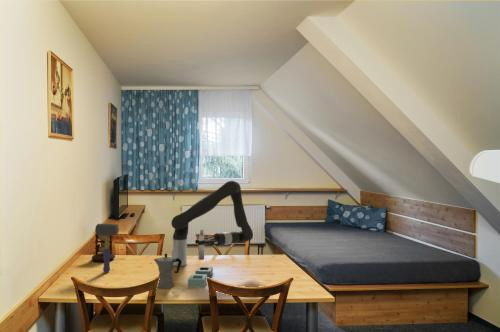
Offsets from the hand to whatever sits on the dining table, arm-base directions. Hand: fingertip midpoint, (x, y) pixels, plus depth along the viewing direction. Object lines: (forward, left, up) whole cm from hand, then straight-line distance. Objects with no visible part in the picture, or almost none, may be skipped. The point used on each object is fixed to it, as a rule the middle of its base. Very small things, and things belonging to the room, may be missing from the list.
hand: (197, 242), depth 207 cm
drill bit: (+2, +2, -10) cm, 10 cm away
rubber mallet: (-58, +11, -23) cm, 63 cm away
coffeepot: (-15, -8, -23) cm, 29 cm away
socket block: (+2, +12, -23) cm, 26 cm away
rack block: (+1, -3, -23) cm, 23 cm away
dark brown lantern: (-71, +36, -23) cm, 83 cm away
